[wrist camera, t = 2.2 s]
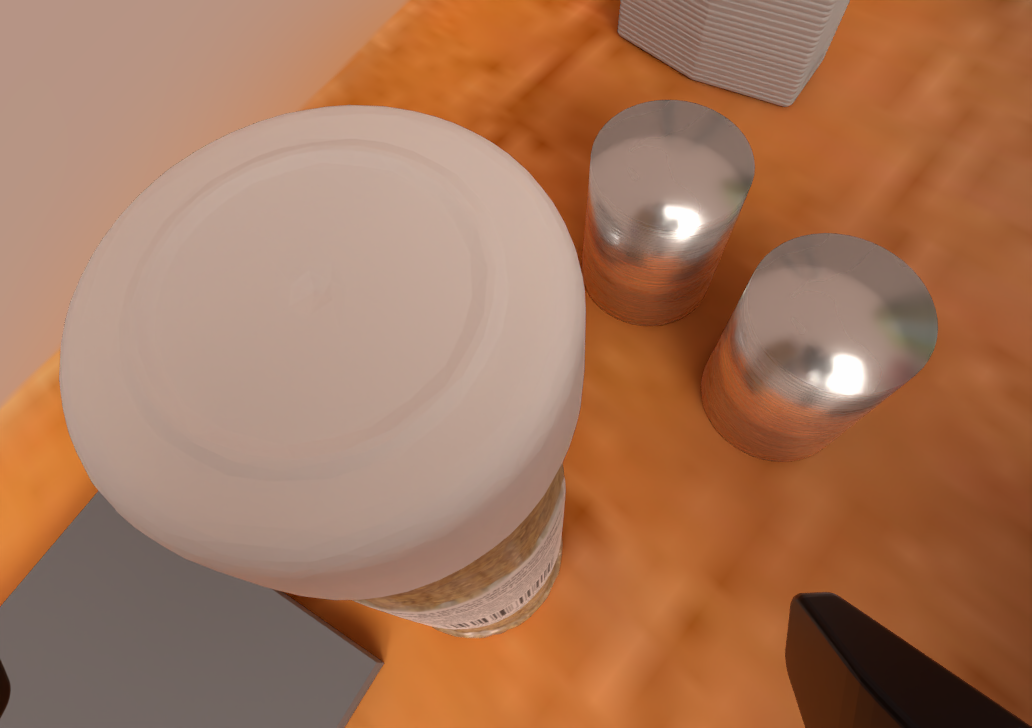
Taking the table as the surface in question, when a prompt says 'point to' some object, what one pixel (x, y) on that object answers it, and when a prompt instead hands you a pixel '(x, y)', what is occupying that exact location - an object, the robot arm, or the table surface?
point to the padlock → (737, 41)
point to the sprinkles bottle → (339, 366)
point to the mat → (166, 642)
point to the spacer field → (769, 294)
